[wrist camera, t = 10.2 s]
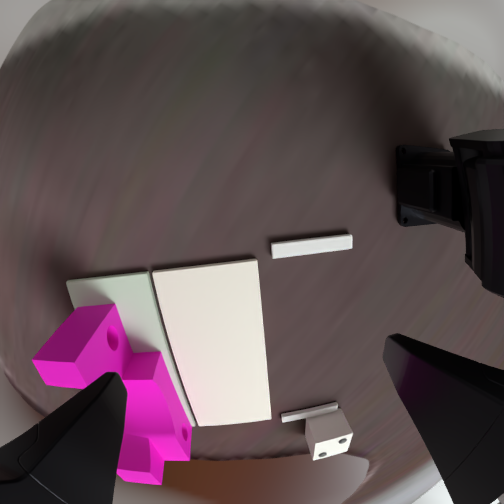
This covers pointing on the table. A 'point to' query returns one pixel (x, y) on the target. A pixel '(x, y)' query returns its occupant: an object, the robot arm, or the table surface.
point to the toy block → (135, 380)
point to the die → (327, 434)
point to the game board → (205, 330)
